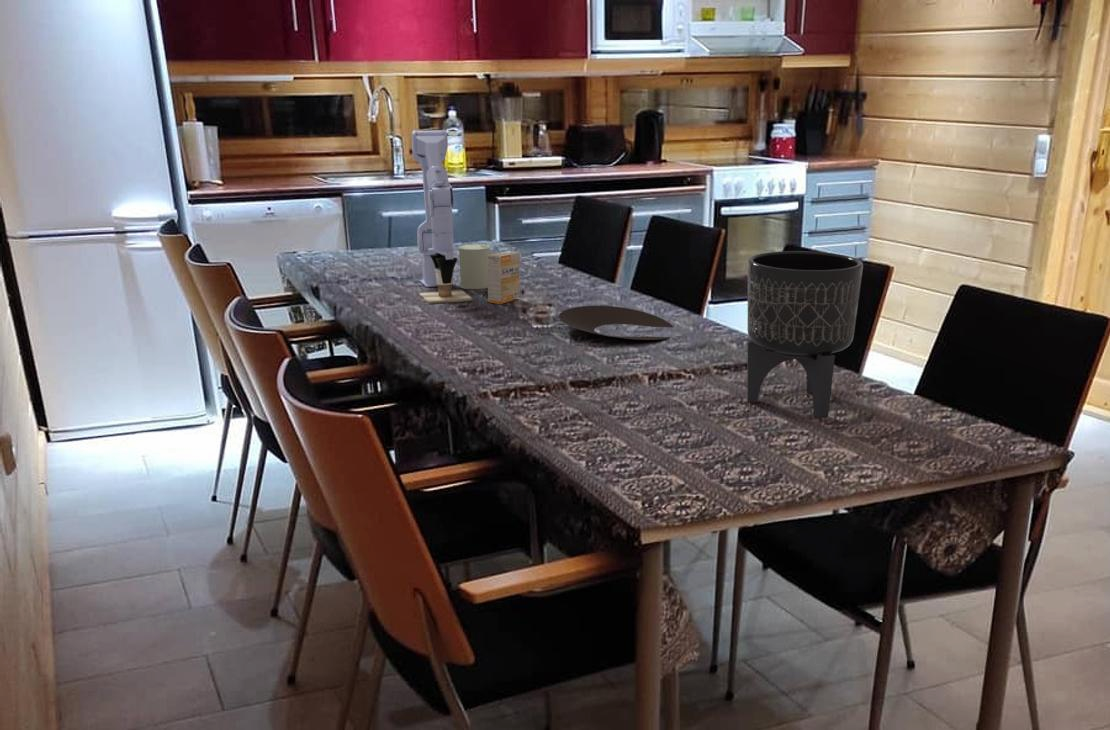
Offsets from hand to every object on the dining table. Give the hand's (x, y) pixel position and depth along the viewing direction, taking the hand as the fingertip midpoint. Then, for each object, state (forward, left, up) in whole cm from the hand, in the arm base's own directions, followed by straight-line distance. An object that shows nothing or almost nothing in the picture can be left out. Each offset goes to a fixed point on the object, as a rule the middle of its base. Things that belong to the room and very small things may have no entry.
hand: (444, 281), depth 259 cm
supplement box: (+10, +14, -5) cm, 18 cm away
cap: (0, 0, -1) cm, 1 cm away
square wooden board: (0, 0, -5) cm, 5 cm away
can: (-12, +12, -5) cm, 18 cm away
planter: (+111, +39, -5) cm, 118 cm away
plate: (+50, +30, -5) cm, 58 cm away
